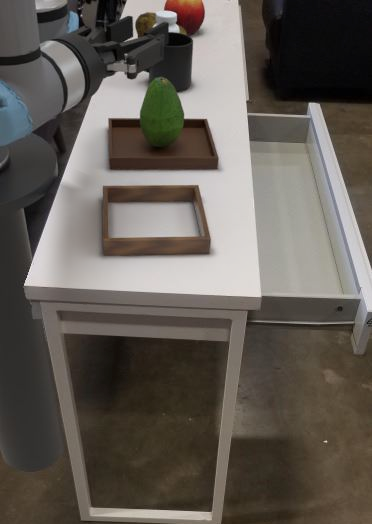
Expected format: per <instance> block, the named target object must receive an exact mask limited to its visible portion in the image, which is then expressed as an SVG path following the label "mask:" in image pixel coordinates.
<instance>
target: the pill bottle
mask: <svg viewBox="0 0 372 524" xmlns="http://www.w3.org/2000/svg"><path fill="white" fill-rule="evenodd" d="M155 13H156V21H157V23H156V24H154V26H153V27H155V26H157V25H159V24H161V23H163V22H168V23H169V32H176V33H180V29H179V27H178V25H177V24H176V22H177V14H176V13H175V12H172V11H164V10H158V11H156V12H155Z"/></svg>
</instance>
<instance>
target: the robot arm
mask: <svg viewBox="0 0 372 524" xmlns="http://www.w3.org/2000/svg"><path fill="white" fill-rule="evenodd" d="M68 9H69V8H68V0H0V174H1V173H2V172H3V171H4V170H5V169H6V168H7V167H8V165H9V163H10V156H9V150H8V147H7V144H9V143H12V142H14V141H16V140H18V139H20V138H25V137H26V136H28V135H29V134H30V133H33V132H34V131H36V130H37V129H39V128H40V127H41V126H43V125H45V124H46V123H47V122H49V121H51V120H55V119H57V117H58V116H59V115H62V114H63V113H64V112H66V111H68V110H70V109H72V108H73V107H76V106H77V105H79V104H81V103H82V102H84V101H86V100H88V99H89V98H91V97H92V96H94V95H95V94H96V93H97V92H98V90H99V89H100V88H101V85H102V83H103V81H104V79H107V78H108V77H109V78H110V77H113V76H115V74H116V73H119V72H120V73H121V72H122V73H124V76H126V78H127V80H135V79H137V77H138V75H139V74H140V73H142V72H145V71H144V70H146V69H147V68H149V67H151V66H153V65H154V64H156V63H158V62H160V61H161V60H163V47H164V46H165V45H166V44H168V43H169V23H168V22H163V23H161V24H159V25H157V26H155V27H153V28H151V29H149V30H147V31H146V32H144V33H143V35H144V36H143V37H139V38H138V37H137V38H134V15H133V16H132V15H127V16H124V17H122V18H120V19H118V20H116V21H113V22H112V23H109V24H107V25H105V21H104V20H101V19H100V20H99V19H98V20H95V28H93V29H92V26H91V25H88V24H86V25H83V26H81V27H79V26H80V25H79V23H80V22H79V21H80V20H79V14H78V13H76V12H74V11H72V10H68Z"/></svg>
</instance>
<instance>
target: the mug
mask: <svg viewBox="0 0 372 524" xmlns="http://www.w3.org/2000/svg"><path fill="white" fill-rule="evenodd" d="M193 54H194V39H193V38H192V37H191V36H189V35H185V34H181V33H176V32H169V43H168V44H166V45H165V46H164V47H163V60H161V61H160V62H158V63H156V64H154V65H153V66H151V67H149V68H147V69H146V70H144V71H143V72H145V73H147V74H148V83H149V84H150V83H151V82H152V81H153V80H154V79H155V78H158V77H163V78H166V79H168V80H169V81H170V82H171V83H172V85H173V86H174V88H175V90H176V92H182V91H185V90H188V89H189V88H190V87H191V85H192V71H193Z"/></svg>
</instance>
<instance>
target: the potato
mask: <svg viewBox="0 0 372 524" xmlns="http://www.w3.org/2000/svg"><path fill="white" fill-rule="evenodd" d="M156 23H157V21H156V12H151V11H150V12H149V11H146V12H144V13H141V14H139V15H138V17H137V19H136V20H135V24H134V26H135V27H134V28H135V30H136V34H137V38H139V37H143V36H144V35H143V33H144V32H146V31H147V30H149V29H151V28H153V26H154V24H156ZM178 27H179V29H180V33H181V34H185V35H187V32H186V31H185V29H184V28H182V27H181V26H179V25H178Z"/></svg>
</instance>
